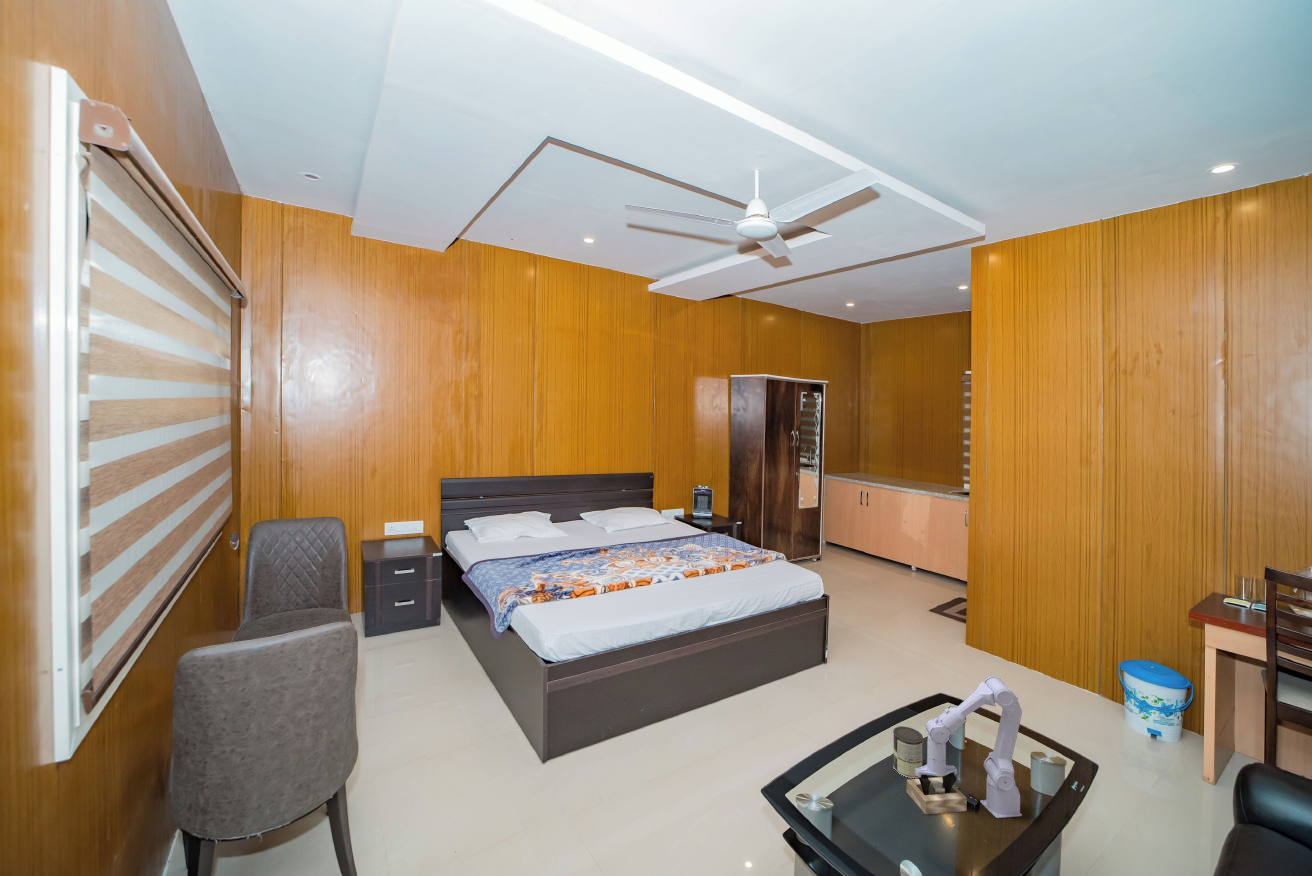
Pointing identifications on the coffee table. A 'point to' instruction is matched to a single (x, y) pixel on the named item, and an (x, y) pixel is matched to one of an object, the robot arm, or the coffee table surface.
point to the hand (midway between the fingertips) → (935, 794)
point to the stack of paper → (936, 788)
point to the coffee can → (907, 751)
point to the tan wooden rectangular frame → (936, 798)
